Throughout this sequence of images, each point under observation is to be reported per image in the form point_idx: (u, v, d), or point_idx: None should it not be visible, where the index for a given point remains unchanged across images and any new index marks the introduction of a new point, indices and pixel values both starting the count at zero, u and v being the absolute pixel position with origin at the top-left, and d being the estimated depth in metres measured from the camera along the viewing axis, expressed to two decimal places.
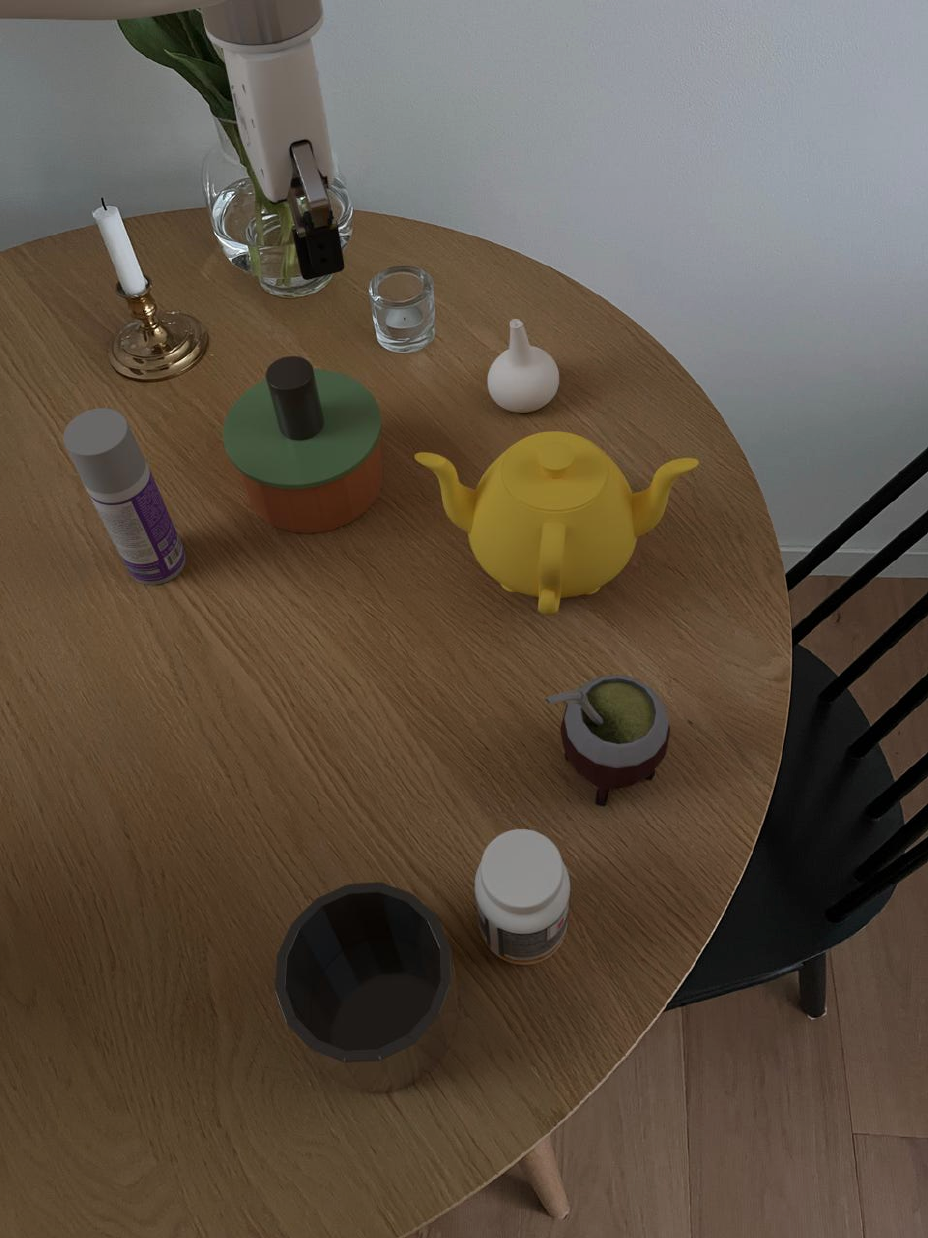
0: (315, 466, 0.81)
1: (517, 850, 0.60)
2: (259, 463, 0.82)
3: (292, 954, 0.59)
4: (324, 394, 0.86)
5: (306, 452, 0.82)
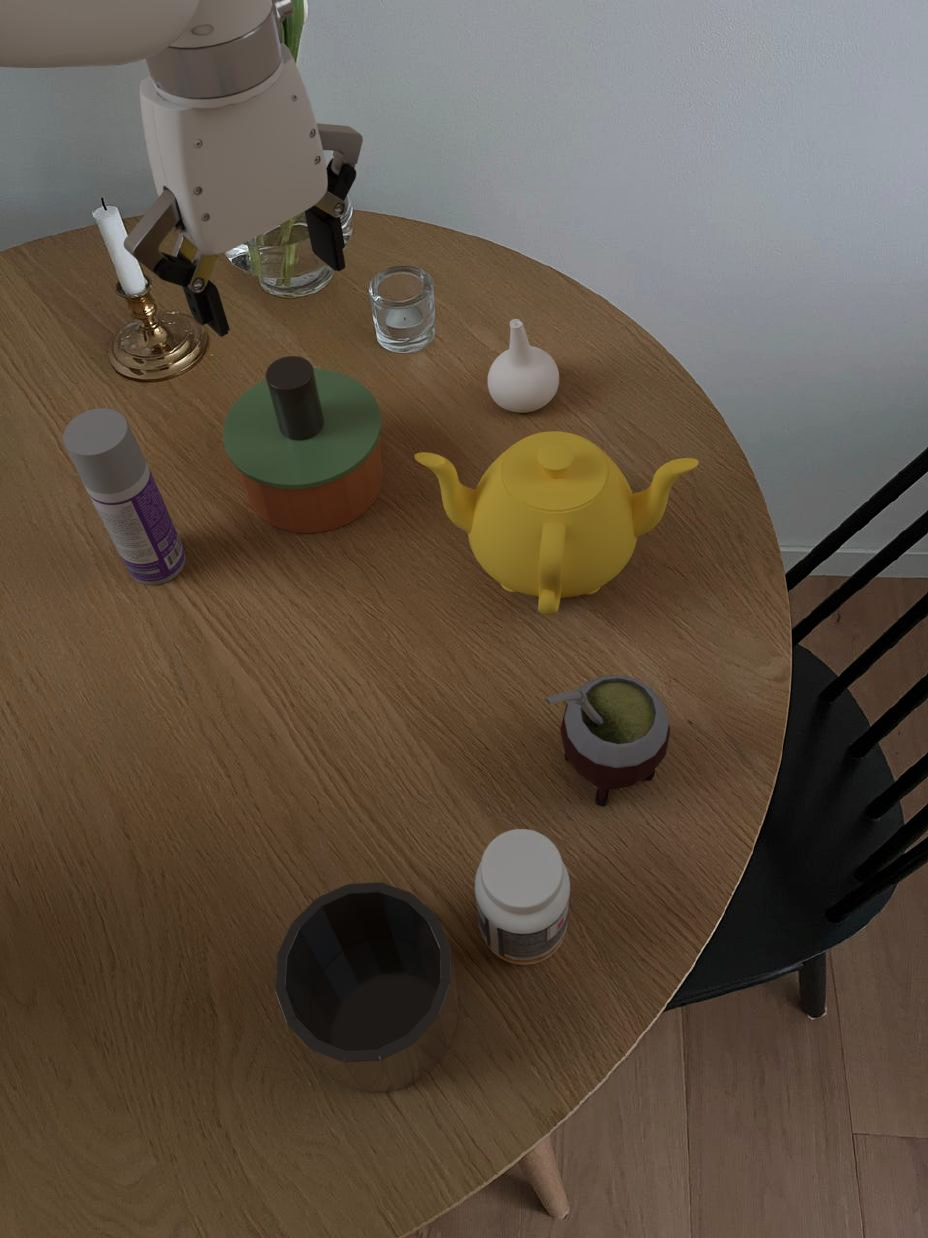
0: (315, 466, 0.81)
1: (517, 850, 0.60)
2: (259, 463, 0.82)
3: (292, 954, 0.59)
4: (324, 394, 0.86)
5: (306, 452, 0.82)
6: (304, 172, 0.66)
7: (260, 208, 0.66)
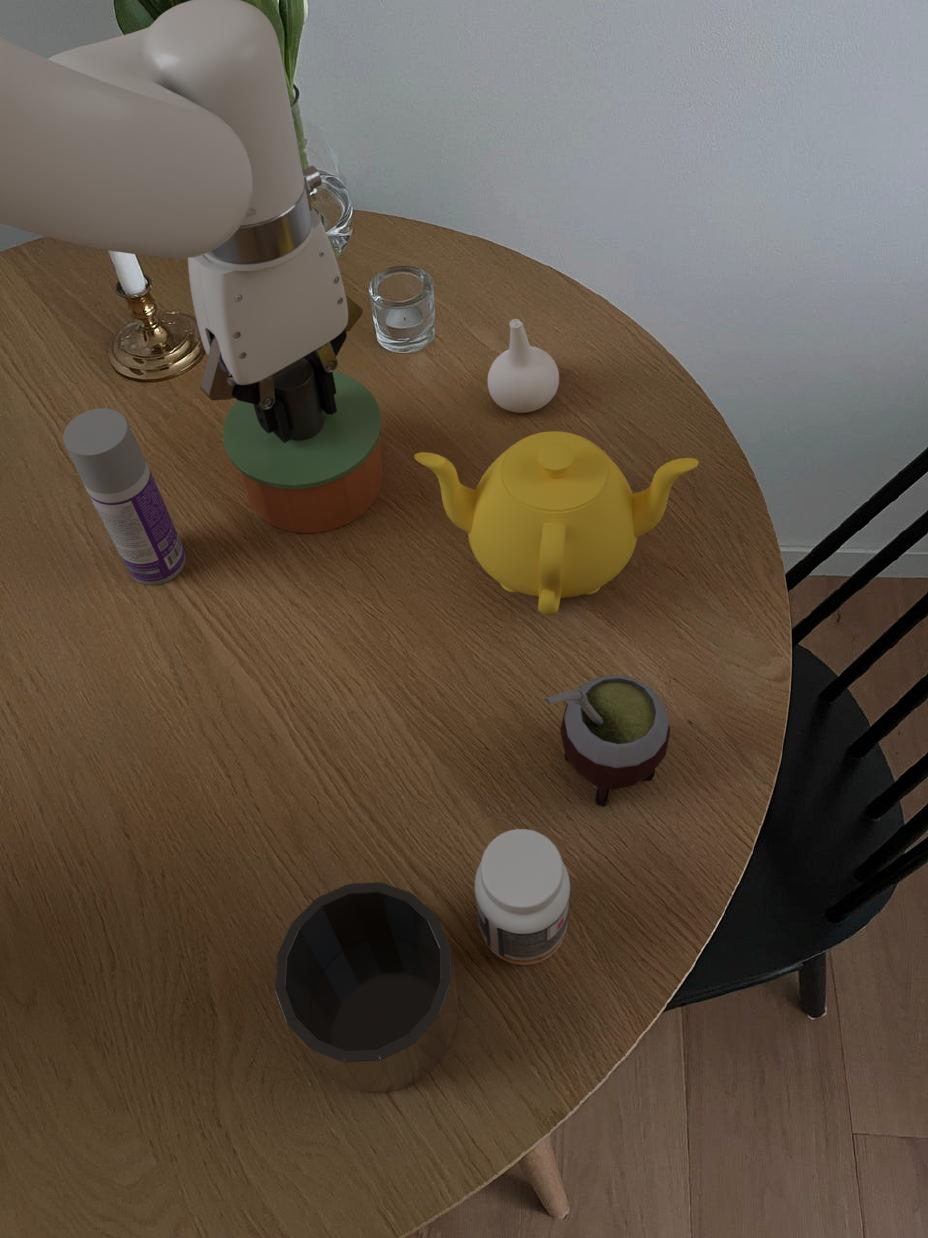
0: (315, 466, 0.81)
1: (517, 850, 0.60)
2: (259, 463, 0.82)
3: (292, 954, 0.59)
4: None
5: (306, 452, 0.82)
6: (328, 312, 0.75)
7: (289, 344, 0.74)
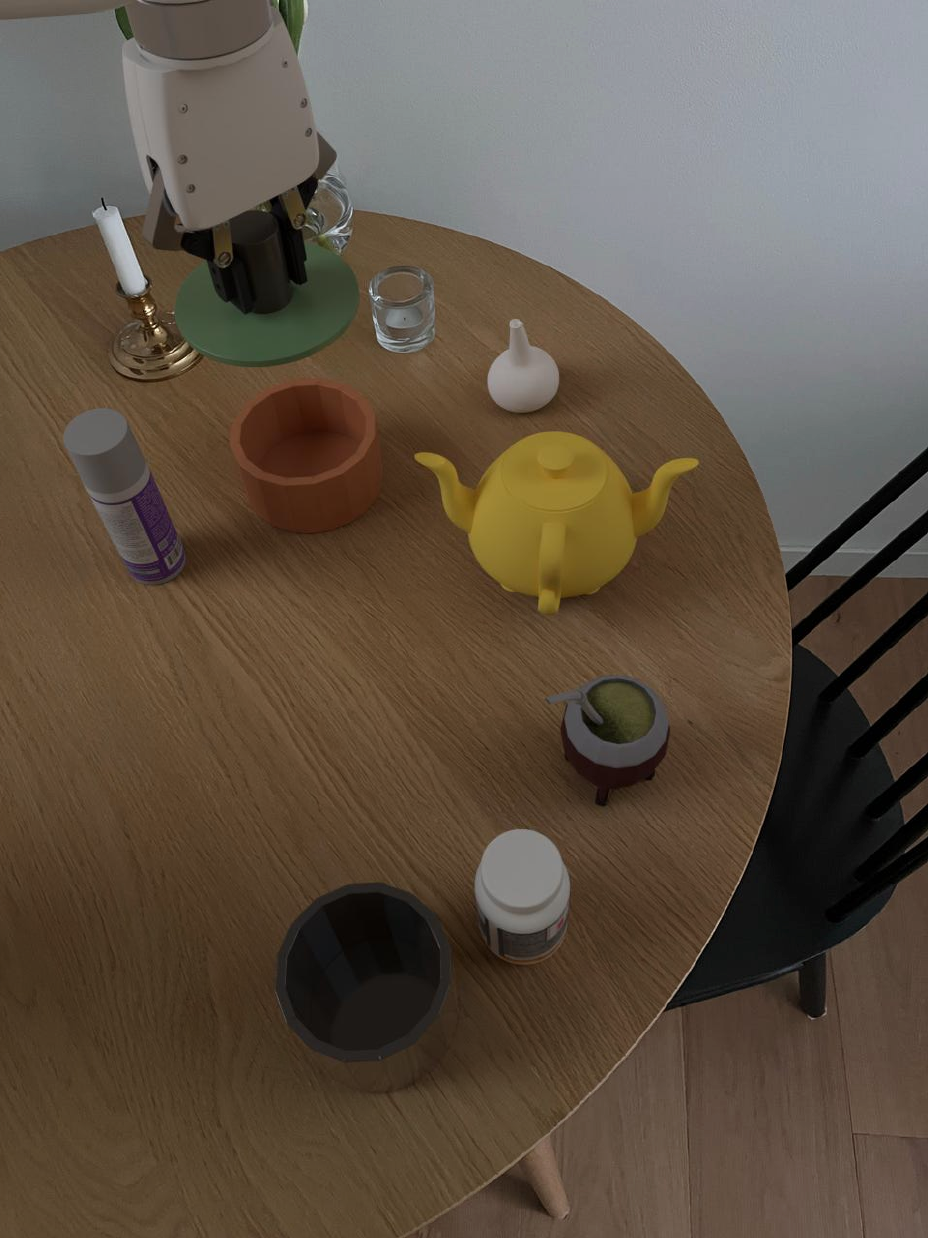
0: (281, 341, 0.70)
1: (517, 850, 0.60)
2: (216, 338, 0.70)
3: (292, 954, 0.59)
4: None
5: (271, 326, 0.70)
6: (295, 145, 0.63)
7: (248, 181, 0.63)
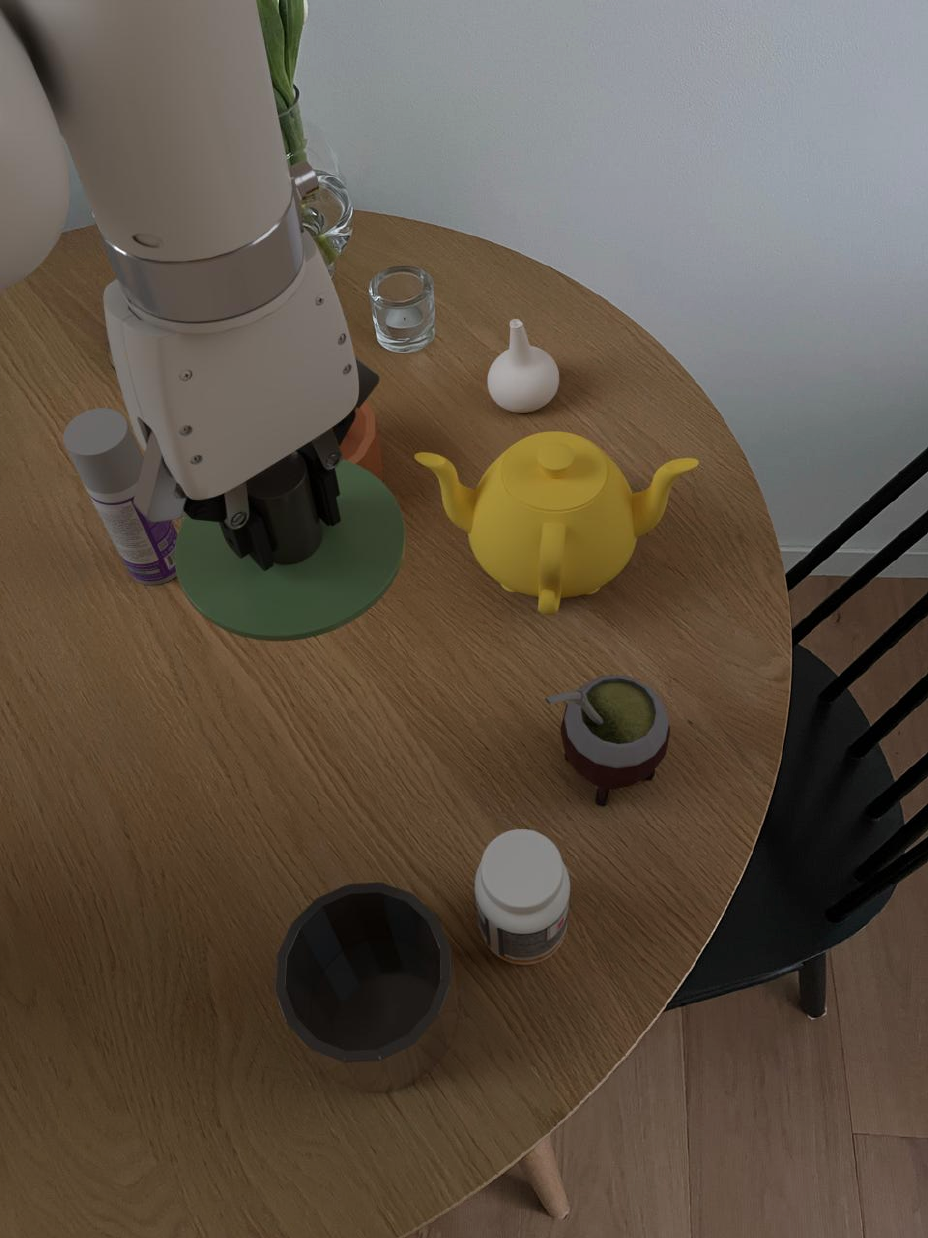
0: (310, 606, 0.55)
1: (517, 850, 0.60)
2: (228, 601, 0.56)
3: (292, 954, 0.59)
4: None
5: (297, 583, 0.56)
6: (330, 387, 0.49)
7: (270, 438, 0.48)
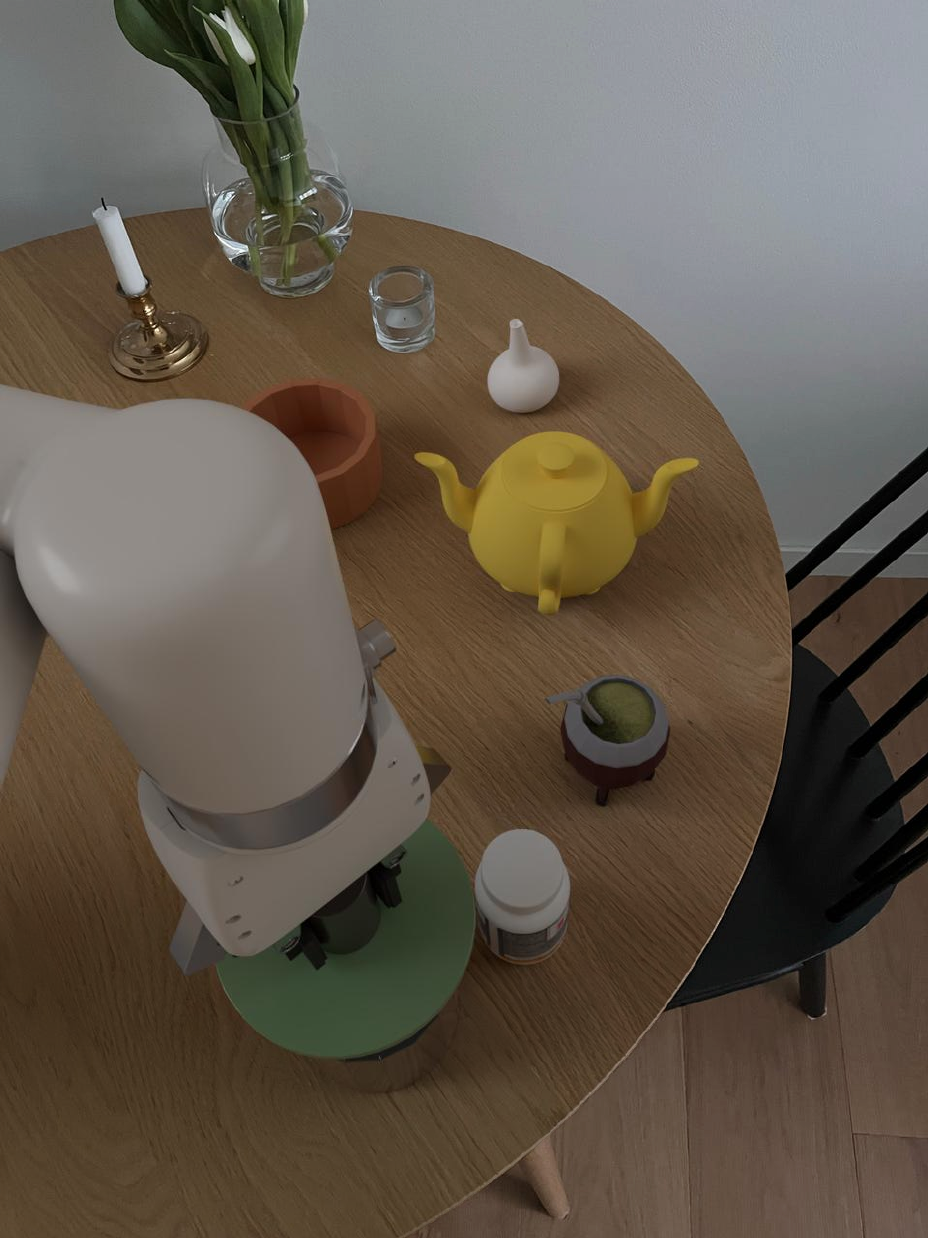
0: (368, 1015, 0.48)
1: (517, 850, 0.60)
2: (273, 1005, 0.48)
3: None
4: None
5: (352, 982, 0.49)
6: (399, 822, 0.42)
7: (330, 887, 0.41)
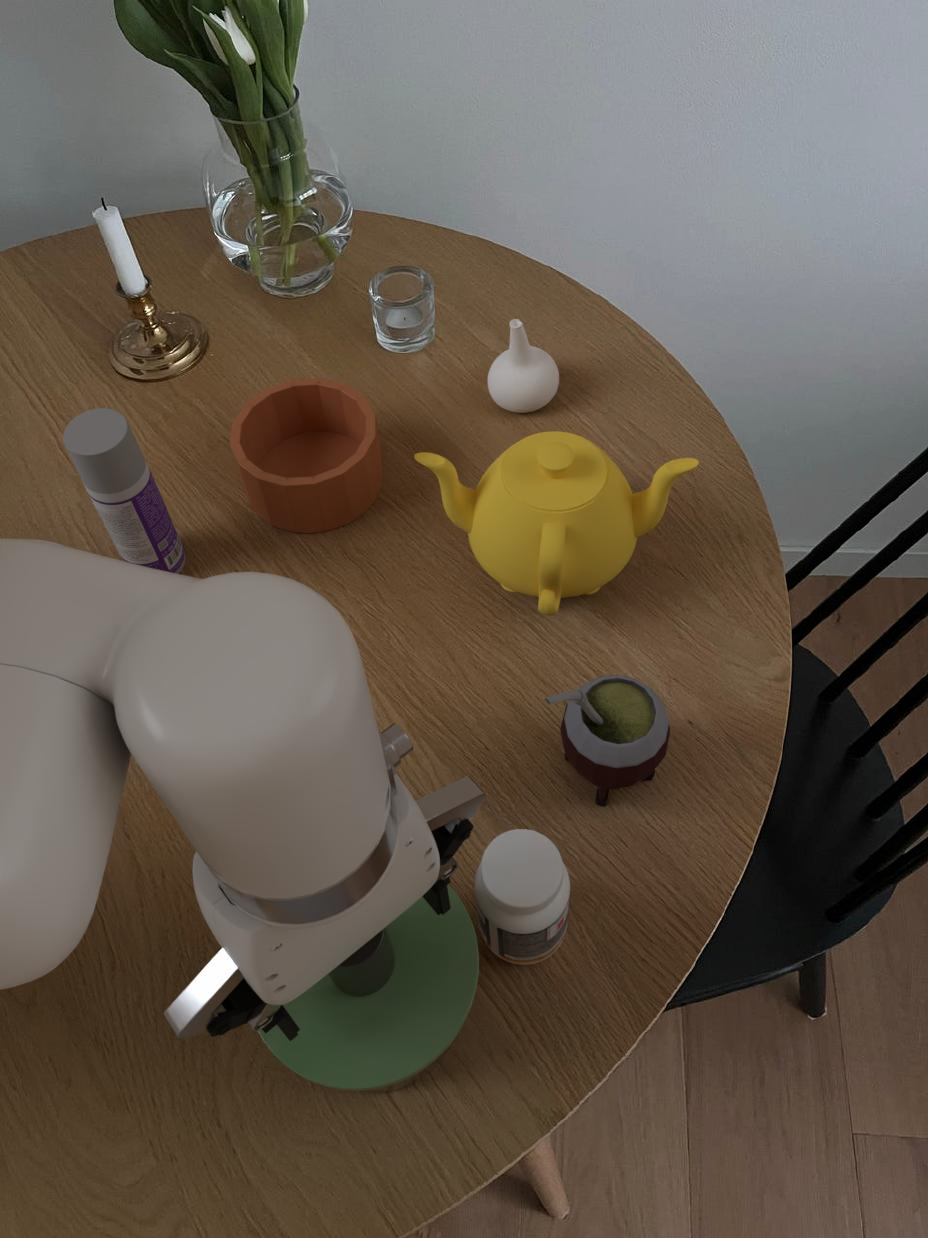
0: (384, 1051, 0.54)
1: (517, 850, 0.60)
2: (300, 1042, 0.55)
3: None
4: None
5: (370, 1021, 0.55)
6: (413, 887, 0.48)
7: (353, 945, 0.47)
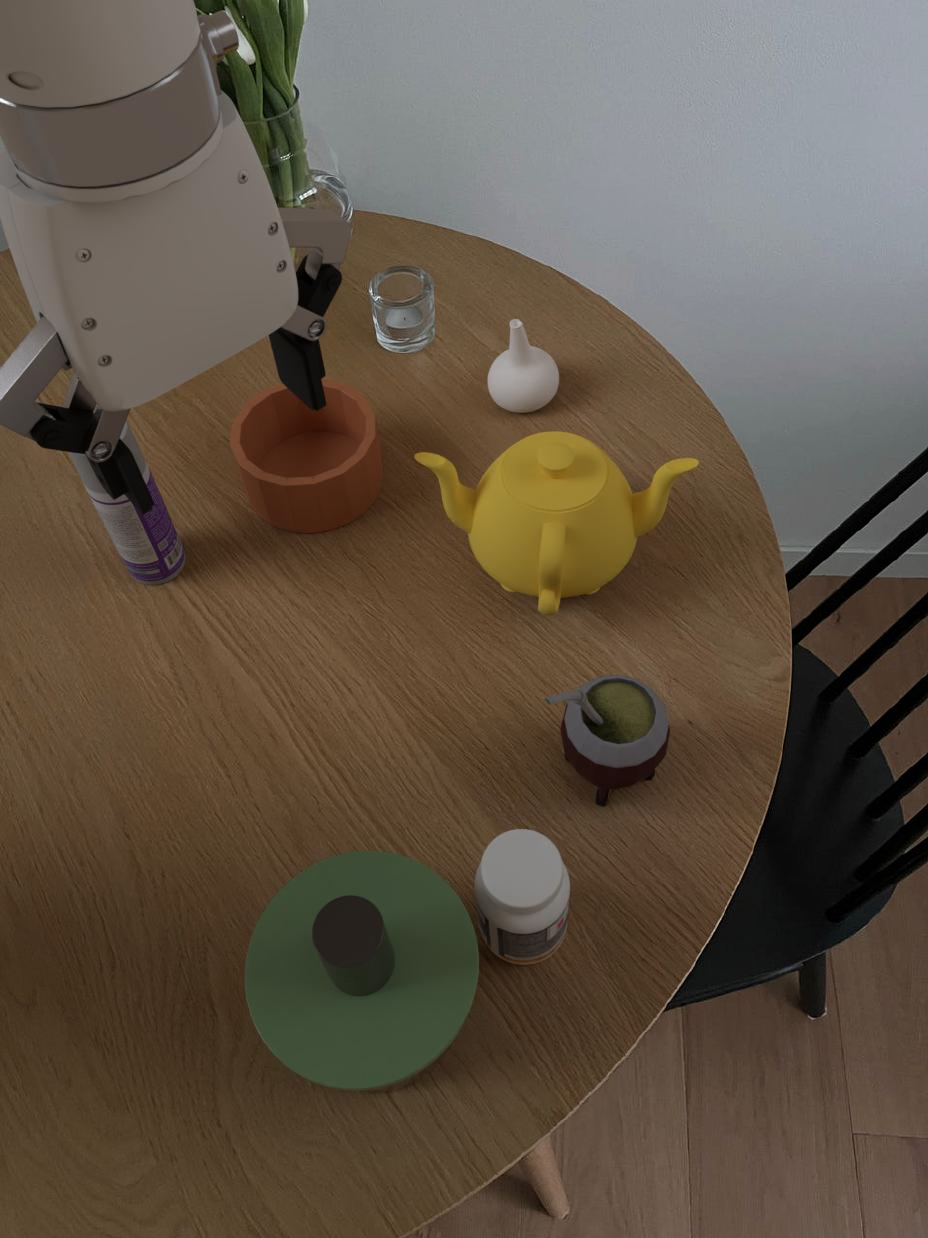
0: (384, 1051, 0.54)
1: (517, 850, 0.60)
2: (300, 1042, 0.55)
3: None
4: (393, 902, 0.59)
5: (370, 1021, 0.55)
6: (261, 285, 0.43)
7: (193, 341, 0.43)
